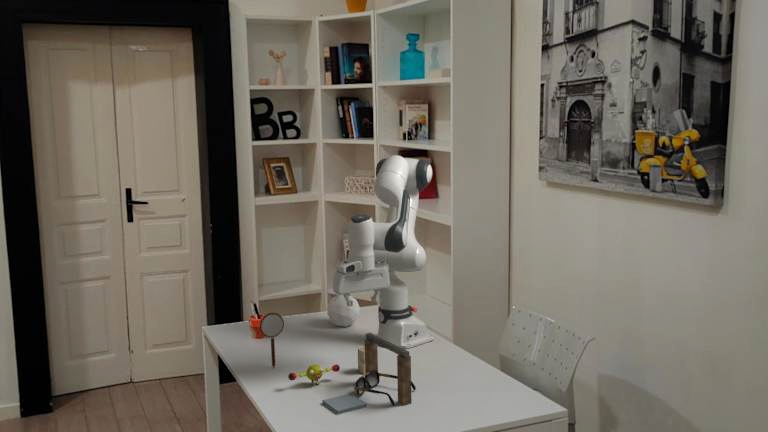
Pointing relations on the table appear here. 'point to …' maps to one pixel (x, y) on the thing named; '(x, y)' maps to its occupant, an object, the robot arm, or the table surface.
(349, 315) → the geodesic sphere
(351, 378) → the table surface
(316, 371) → the toy figure
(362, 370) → the block
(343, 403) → the pad
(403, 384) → the rod stand
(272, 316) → the magnifying glass
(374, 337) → the rod
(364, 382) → the sunglasses
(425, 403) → the table surface
